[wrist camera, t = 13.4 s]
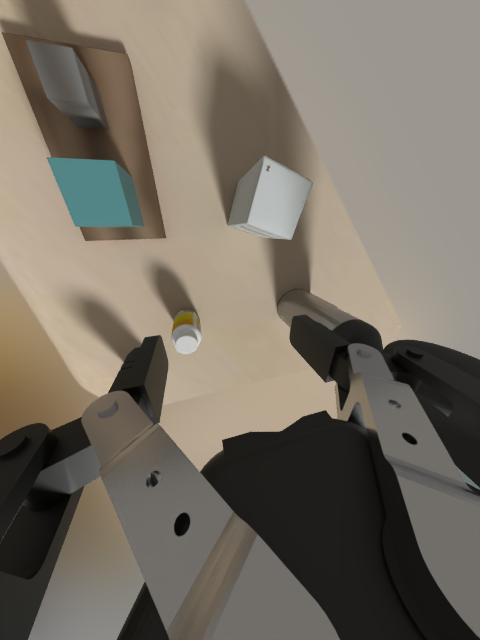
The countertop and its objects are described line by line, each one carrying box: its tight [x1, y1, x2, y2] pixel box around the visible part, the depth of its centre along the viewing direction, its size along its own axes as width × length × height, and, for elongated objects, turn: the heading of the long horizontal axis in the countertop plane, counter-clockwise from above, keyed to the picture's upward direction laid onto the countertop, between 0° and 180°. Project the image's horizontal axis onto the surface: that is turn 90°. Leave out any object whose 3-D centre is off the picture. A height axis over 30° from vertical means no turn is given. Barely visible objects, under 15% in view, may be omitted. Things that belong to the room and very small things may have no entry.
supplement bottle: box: [171, 310, 202, 354], centre depth 35 cm, size 6×6×10 cm
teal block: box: [47, 157, 145, 228], centre depth 23 cm, size 6×6×7 cm
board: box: [2, 32, 166, 241], centre depth 22 cm, size 12×20×7 cm, turn 1°
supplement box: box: [228, 155, 313, 240], centre depth 27 cm, size 7×7×13 cm
